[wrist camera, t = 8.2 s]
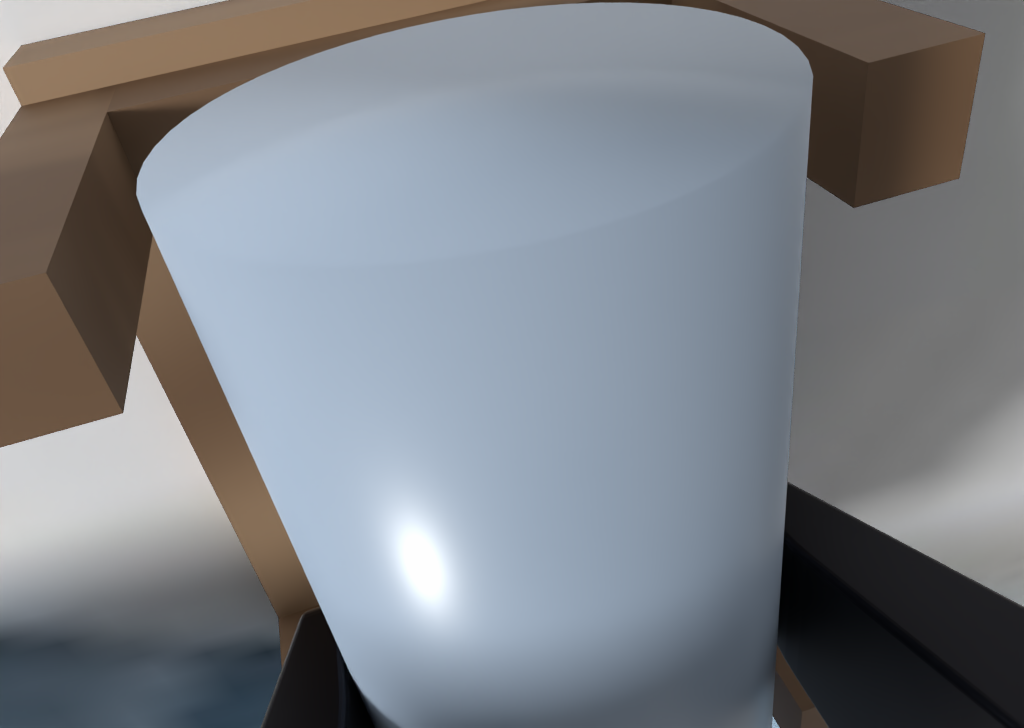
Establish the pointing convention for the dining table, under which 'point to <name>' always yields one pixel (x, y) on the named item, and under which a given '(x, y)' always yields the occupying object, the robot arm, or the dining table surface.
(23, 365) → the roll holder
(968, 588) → the robot arm
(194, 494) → the dining table surface
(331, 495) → the cylinder
